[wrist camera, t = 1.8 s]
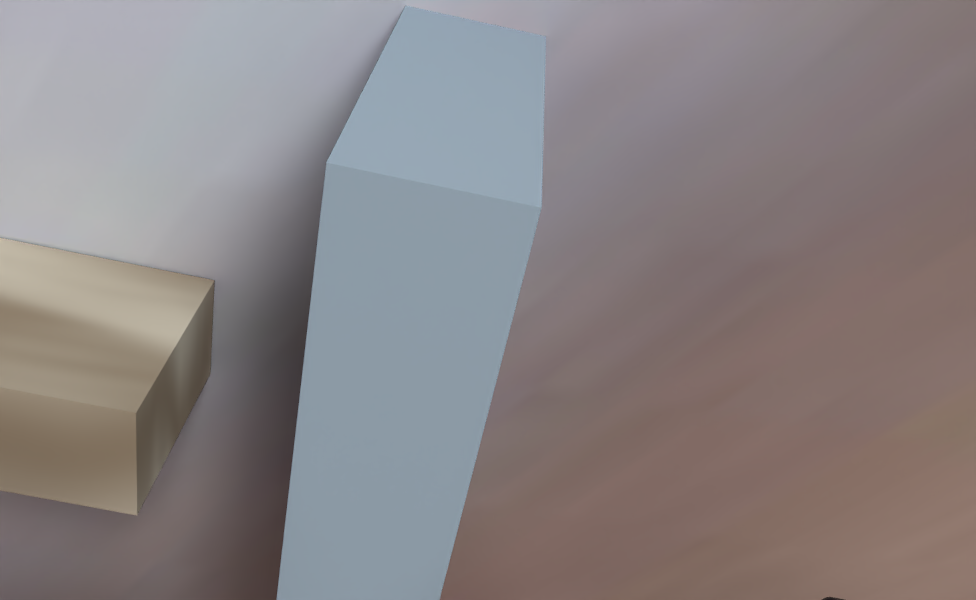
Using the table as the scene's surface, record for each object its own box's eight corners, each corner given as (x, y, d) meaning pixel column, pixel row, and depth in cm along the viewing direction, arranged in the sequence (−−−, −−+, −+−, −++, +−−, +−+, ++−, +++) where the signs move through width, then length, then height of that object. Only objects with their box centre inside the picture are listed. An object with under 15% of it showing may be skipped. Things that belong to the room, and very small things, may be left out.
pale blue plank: (436, 497, 23) (397, 761, 17) (335, 477, 23) (260, 738, 17) (545, 34, 17) (541, 207, 11) (406, 4, 17) (325, 162, 11)
